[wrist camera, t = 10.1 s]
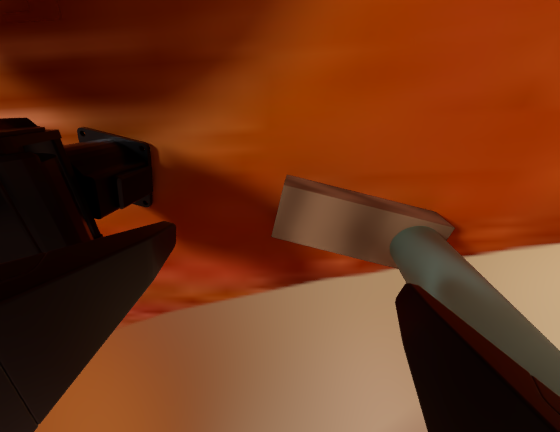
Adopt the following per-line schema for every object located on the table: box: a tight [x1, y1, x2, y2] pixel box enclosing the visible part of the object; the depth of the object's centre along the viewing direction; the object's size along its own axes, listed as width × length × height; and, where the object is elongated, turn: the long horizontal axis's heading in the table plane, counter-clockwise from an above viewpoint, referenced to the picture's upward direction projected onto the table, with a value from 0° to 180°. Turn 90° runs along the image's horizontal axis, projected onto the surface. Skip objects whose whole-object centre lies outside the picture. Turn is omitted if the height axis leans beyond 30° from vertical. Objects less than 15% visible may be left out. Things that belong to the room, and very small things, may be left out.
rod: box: [390, 226, 560, 396], centre depth 13 cm, size 4×4×13 cm
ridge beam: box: [271, 175, 455, 269], centre depth 20 cm, size 14×5×3 cm, turn 77°
